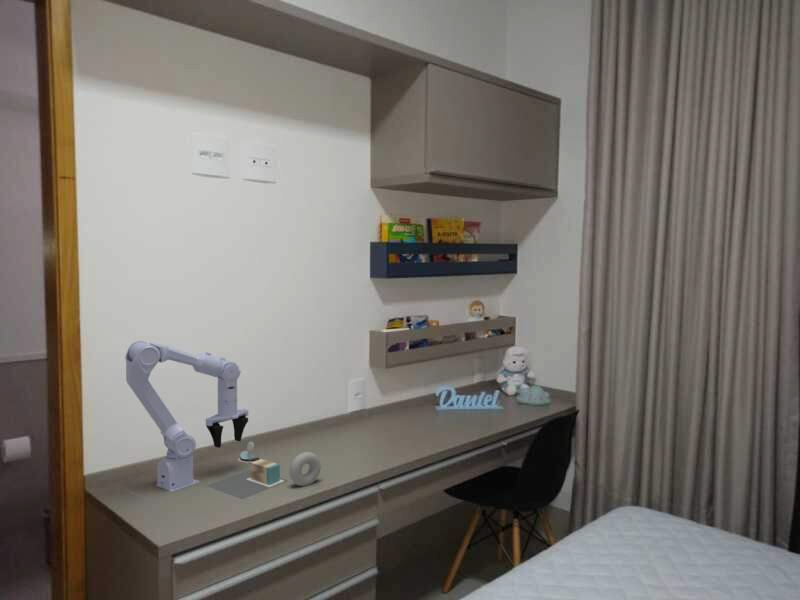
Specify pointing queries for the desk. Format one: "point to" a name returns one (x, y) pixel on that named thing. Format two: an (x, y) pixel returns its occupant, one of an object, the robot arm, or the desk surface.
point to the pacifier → (248, 453)
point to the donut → (299, 463)
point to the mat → (242, 485)
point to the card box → (265, 472)
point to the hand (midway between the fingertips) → (227, 443)
